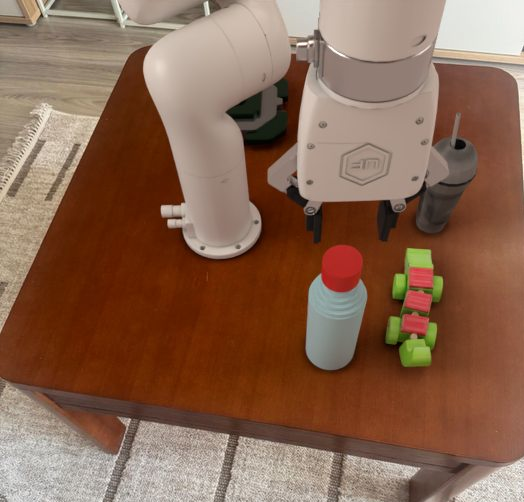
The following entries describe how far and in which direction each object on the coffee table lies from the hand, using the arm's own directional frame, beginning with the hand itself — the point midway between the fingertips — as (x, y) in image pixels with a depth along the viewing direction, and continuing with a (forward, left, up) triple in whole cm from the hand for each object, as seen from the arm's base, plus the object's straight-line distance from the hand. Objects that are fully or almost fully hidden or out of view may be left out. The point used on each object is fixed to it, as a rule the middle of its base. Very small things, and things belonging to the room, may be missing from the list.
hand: (349, 230), depth 51 cm
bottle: (0, 0, -26) cm, 26 cm away
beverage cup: (+17, +22, -26) cm, 38 cm away
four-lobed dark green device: (-14, +48, -26) cm, 57 cm away
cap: (0, 0, -8) cm, 8 cm away
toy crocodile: (+12, +5, -26) cm, 29 cm away
